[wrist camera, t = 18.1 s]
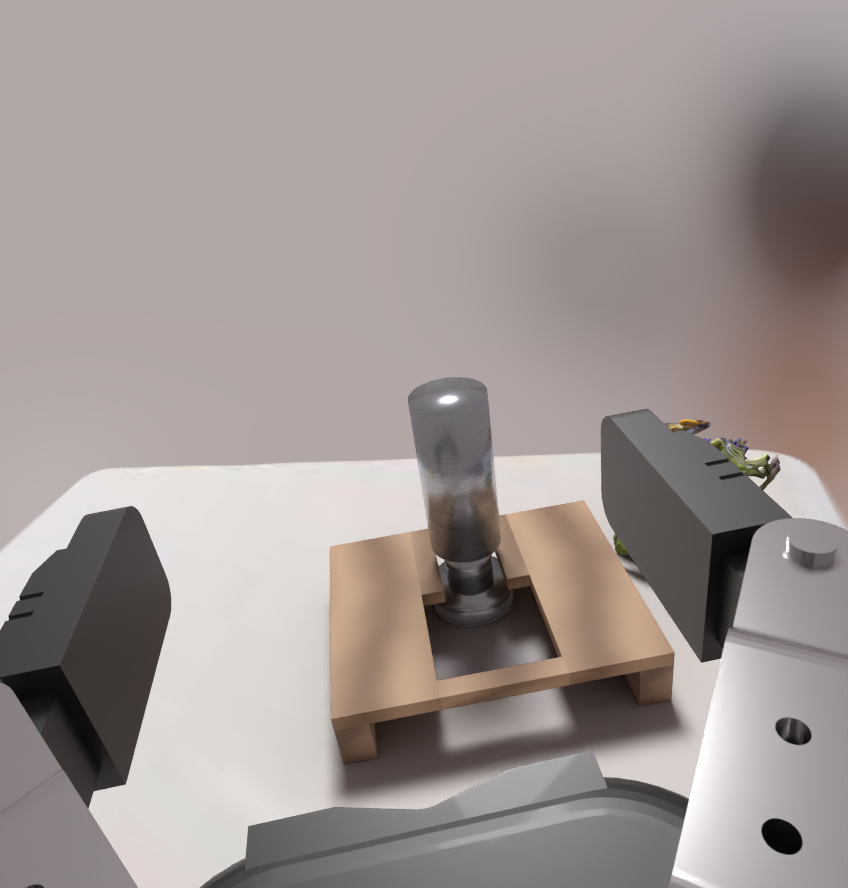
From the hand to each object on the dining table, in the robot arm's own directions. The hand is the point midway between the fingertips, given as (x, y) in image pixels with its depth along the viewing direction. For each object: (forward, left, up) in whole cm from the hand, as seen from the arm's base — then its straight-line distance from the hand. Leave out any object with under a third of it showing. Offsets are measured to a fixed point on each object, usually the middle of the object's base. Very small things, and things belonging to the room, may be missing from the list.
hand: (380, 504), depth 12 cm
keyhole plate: (+4, +25, -29) cm, 38 cm away
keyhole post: (+4, +29, -29) cm, 41 cm away
